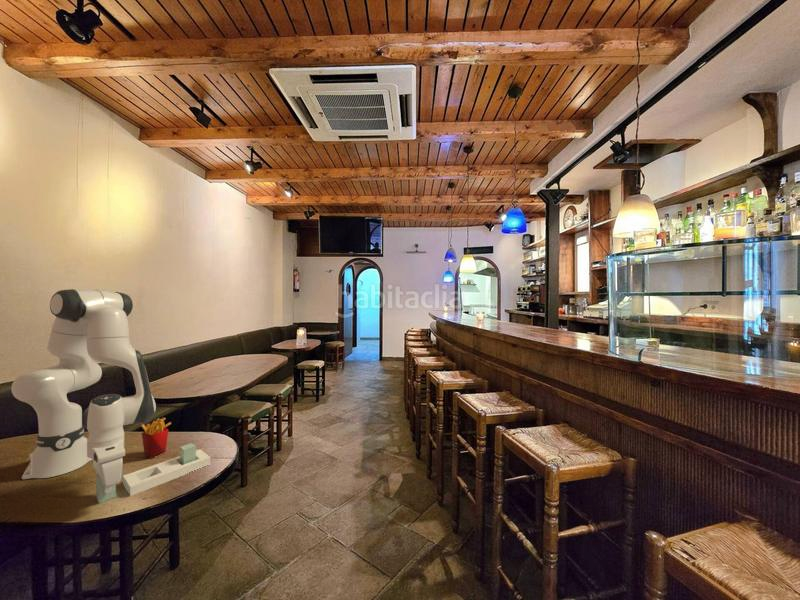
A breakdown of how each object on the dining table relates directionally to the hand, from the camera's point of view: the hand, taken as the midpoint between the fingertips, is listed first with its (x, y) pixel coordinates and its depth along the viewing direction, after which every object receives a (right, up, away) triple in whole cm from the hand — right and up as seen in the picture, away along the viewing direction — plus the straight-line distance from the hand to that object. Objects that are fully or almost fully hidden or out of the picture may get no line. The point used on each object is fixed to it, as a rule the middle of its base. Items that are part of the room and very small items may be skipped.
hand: (106, 488), depth 101 cm
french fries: (-4, -3, +27) cm, 28 cm away
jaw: (0, -3, 0) cm, 3 cm away
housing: (+10, -3, +14) cm, 17 cm away
